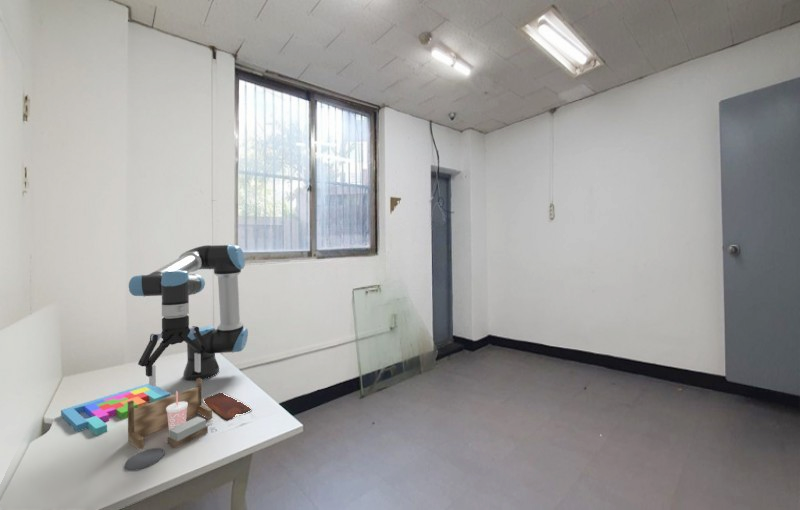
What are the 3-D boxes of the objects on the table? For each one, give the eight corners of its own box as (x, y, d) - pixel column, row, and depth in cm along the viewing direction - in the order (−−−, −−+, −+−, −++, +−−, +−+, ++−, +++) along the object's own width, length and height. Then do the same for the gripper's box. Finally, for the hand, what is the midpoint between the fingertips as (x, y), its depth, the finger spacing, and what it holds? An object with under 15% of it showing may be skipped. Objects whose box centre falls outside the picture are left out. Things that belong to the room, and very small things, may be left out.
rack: (200, 411, 121) (199, 378, 121) (212, 417, 116) (211, 382, 116) (128, 441, 102) (127, 401, 102) (139, 450, 98) (138, 408, 97)
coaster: (156, 446, 99) (156, 444, 99) (169, 456, 95) (169, 454, 95) (119, 463, 92) (119, 461, 92) (132, 474, 87) (132, 472, 87)
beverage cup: (161, 436, 105) (161, 394, 105) (177, 425, 111) (176, 386, 111) (178, 437, 104) (177, 395, 104) (192, 427, 110) (192, 387, 110)
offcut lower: (199, 429, 110) (199, 422, 110) (207, 433, 107) (207, 426, 107) (167, 445, 101) (167, 437, 101) (174, 450, 99) (174, 442, 98)
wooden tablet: (254, 412, 122) (254, 407, 122) (226, 423, 114) (226, 418, 114) (224, 392, 138) (224, 388, 138) (199, 400, 131) (199, 396, 131)
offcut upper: (197, 423, 109) (197, 416, 109) (206, 426, 107) (205, 419, 107) (169, 437, 101) (169, 429, 101) (177, 441, 99) (177, 433, 99)
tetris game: (61, 417, 118) (84, 441, 103) (60, 410, 118) (84, 432, 103) (150, 389, 142) (180, 405, 127) (150, 382, 142) (180, 398, 127)
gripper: (134, 324, 94) (135, 394, 94) (218, 311, 116) (219, 368, 116) (124, 321, 98) (125, 389, 98) (207, 309, 119) (208, 364, 120)
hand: (176, 378), depth 107 cm, fingers open, 13 cm apart
